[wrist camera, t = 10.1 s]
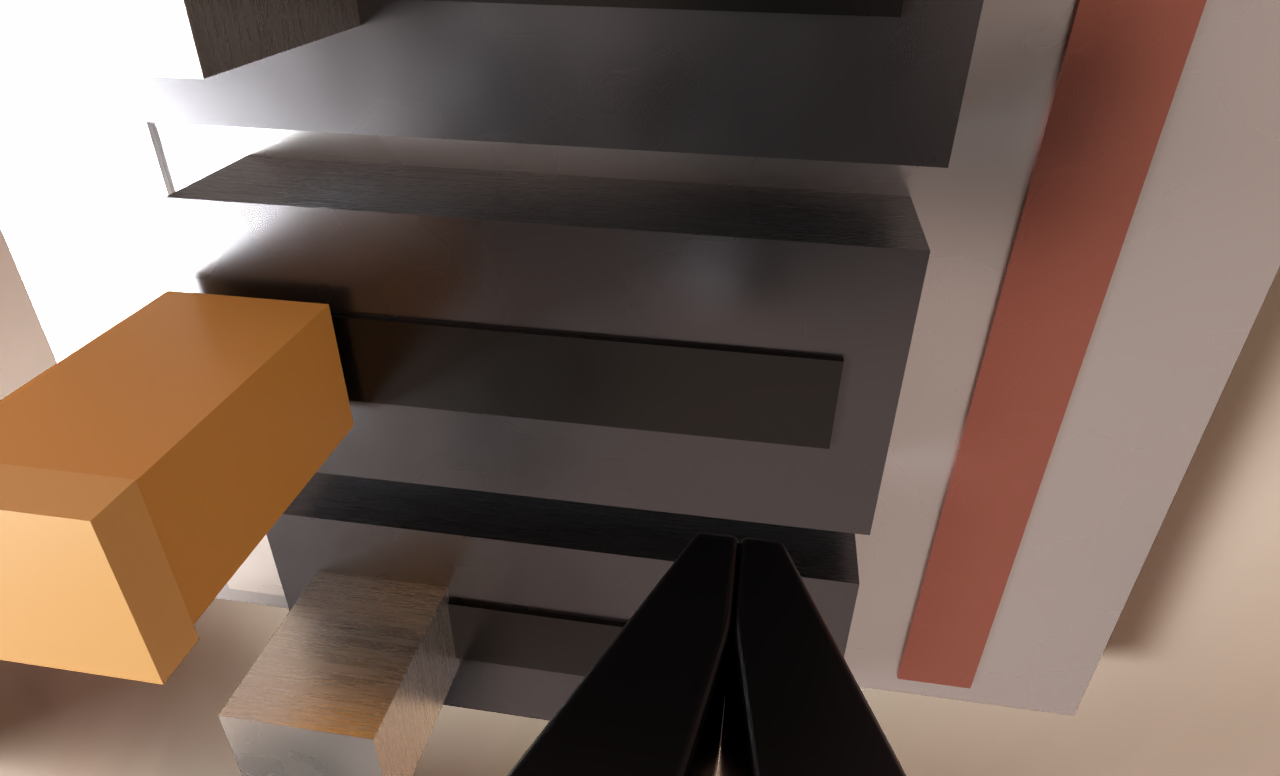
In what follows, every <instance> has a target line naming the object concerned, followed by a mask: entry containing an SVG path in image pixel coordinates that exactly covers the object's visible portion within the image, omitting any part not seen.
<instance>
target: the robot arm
mask: <svg viewBox="0 0 1280 776" xmlns="http://www.w3.org/2000/svg"><path fill="white" fill-rule="evenodd" d="M738 550H739V553H738ZM737 562H738V563H737ZM725 691H726V692H725ZM724 701H725V703H724ZM723 711H724V714H723ZM722 721H723V725H722ZM721 731H722V736H721ZM720 741H721V751H720V776H906V774H905V772H904V770H903V769H902V767H901V765H900V763H899V761H898V759H897V757H896V755H895V753H894V752H893V750H892V748H891V746H890V744H889V742H888V740H887V738H886V736H885V735H884V733H883V731H882V729H881V727H880V725H879V723H878V721H877V719H876V718H875V716H874V714H873V712H872V710H871V708H870V706H869V704H868V702H867V700H866V699H865V697H864V695H863V693H862V691H861V689H860V687H859V685H858V683H857V682H856V680H855V678H854V676H853V674H852V672H851V670H850V668H849V666H848V665H847V663H846V661H845V659H844V657H843V655H842V653H841V651H840V649H839V648H838V646H837V644H836V642H835V640H834V638H833V636H832V634H831V632H830V631H829V629H828V627H827V625H826V623H825V621H824V619H823V617H822V615H821V614H820V612H819V610H818V608H817V606H816V604H815V602H814V600H813V598H812V596H811V595H810V593H809V591H808V589H807V587H806V585H805V583H804V581H803V579H802V578H801V576H800V574H799V572H798V570H797V568H796V566H795V564H794V562H793V561H792V559H791V557H790V555H789V553H788V551H787V549H786V548H785V546H784V545H783V544H782V543H780V542H778V541H771V540H763V539H754V538H744V539H742V540H741V542H740V545H739V542H738V540H737V538H735V537H734V536H728V535H720V534H711V533H699V534H697V535H696V536H695V537H694V538H693V539H692V540H691V541H690V543H689V544H688V545H687V546H686V548H685V549H684V550H683V551H682V553H681V554H680V555H679V557H678V558H677V559H676V560H675V562H674V563H673V564H672V566H671V567H670V568H669V569H668V571H667V572H666V573H665V575H664V576H663V577H662V578H661V580H660V581H659V582H658V584H657V585H656V586H655V587H654V589H653V590H652V591H651V592H650V594H649V595H648V596H647V598H646V599H645V600H644V601H643V603H642V604H641V605H640V607H639V608H638V609H637V610H636V612H635V613H634V614H633V616H632V617H631V618H630V619H629V621H628V622H627V623H626V624H625V626H624V627H623V628H622V630H621V631H620V632H619V633H618V635H617V636H616V637H615V639H614V640H613V641H612V642H611V644H610V645H609V646H608V648H607V649H606V650H605V651H604V653H603V654H602V655H601V656H600V658H599V659H598V660H597V662H596V663H595V664H594V665H593V667H592V668H591V669H590V671H589V672H588V673H587V674H586V676H585V677H584V678H583V680H582V681H581V682H580V683H579V685H578V686H577V687H576V688H575V690H574V691H573V692H572V694H571V695H570V696H569V697H568V699H567V700H566V701H565V703H564V704H563V705H562V706H561V708H560V709H559V710H558V712H557V713H556V714H555V715H554V717H553V718H552V719H551V721H550V722H549V723H548V724H547V726H546V727H545V728H544V729H543V731H542V732H541V733H540V735H539V736H538V737H537V738H536V740H535V741H534V742H533V744H532V745H531V746H530V747H529V749H528V750H527V751H526V753H525V754H524V755H523V756H522V758H521V759H520V760H519V761H518V763H517V764H516V765H515V767H514V768H513V769H512V770H511V772H510V773H509V774H508V776H716V771H717V765H718V757H719V749H720Z"/></svg>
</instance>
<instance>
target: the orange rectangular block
mask: <svg viewBox="0 0 1280 776" xmlns="http://www.w3.org/2000/svg"><path fill="white" fill-rule="evenodd" d="M353 426H354V423H353V418H352V413H351V409H350V404H349V399H348V394H347V389H346V385H345V380H344V375H343V370H342V365H341V361H340V356H339V351H338V346H337V341H336V337H335V332H334V327H333V322H332V317H331V313H330V308H329V304H320V303H309V302H297V301H285V300H274V299H262V298H251V297H239V296H227V295H216V294H204V293H192V292H181V291H169V290H167V291H166V292H164V293H163V294H161V295H160V296H158V297H157V298H155V299H154V300H152V301H151V302H149V303H148V304H146V305H145V306H143V307H142V308H140V309H139V310H137V311H136V312H134V313H133V314H131V315H130V316H128V317H126V318H125V319H123V320H122V321H120V322H119V323H117V324H116V325H114V326H113V327H111V328H110V329H108V330H107V331H105V332H104V333H102V334H101V335H99V336H98V337H96V338H95V339H93V340H92V341H90V342H89V343H87V344H85V345H84V346H82V347H81V348H79V349H78V350H76V351H75V352H73V353H72V354H70V355H69V356H67V357H66V358H64V359H63V360H61V361H60V362H58V363H57V364H55V365H54V366H52V367H51V368H49V369H48V370H46V371H44V372H43V373H41V374H40V375H38V376H37V377H35V378H34V379H32V380H31V381H29V382H28V383H26V384H25V385H23V386H22V387H20V388H19V389H17V390H16V391H14V392H13V393H11V394H10V395H8V396H7V397H5V398H3V399H2V400H0V660H5V661H11V662H18V663H24V664H31V665H37V666H44V667H51V668H57V669H64V670H70V671H77V672H83V673H90V674H96V675H103V676H109V677H116V678H123V679H129V680H136V681H142V682H149V683H155V684H162V685H164V683H165V682H166V681H167V679H168V678H169V677H170V676H171V674H172V673H173V672H174V670H175V669H176V668H177V667H178V665H179V664H180V663H181V662H182V660H183V659H184V658H185V656H186V655H187V654H188V653H189V651H190V650H191V649H192V647H193V646H194V645H195V644H196V642H197V641H198V640H199V638H198V636H197V633H196V631H195V628H194V626H193V625H194V624H195V622H196V621H197V620H198V619H199V617H200V616H201V615H202V614H203V612H204V611H205V610H206V609H207V607H208V606H209V605H210V604H211V602H212V601H213V600H214V599H215V597H216V596H217V595H218V594H219V592H220V591H221V590H222V589H223V587H224V586H225V585H226V584H227V582H228V581H229V580H230V579H231V578H232V576H233V575H234V574H235V573H236V571H237V570H238V569H239V568H240V566H241V565H242V564H243V563H244V561H245V560H246V559H247V558H248V556H249V555H250V554H251V553H252V551H253V550H254V549H255V548H256V546H257V545H258V544H259V543H260V541H261V540H262V539H263V538H264V536H265V535H266V534H267V533H268V532H269V530H270V529H271V528H272V527H273V525H274V524H275V523H276V522H277V520H278V519H279V518H280V517H281V515H282V514H283V513H284V512H285V510H286V509H287V508H288V507H289V505H290V504H291V503H292V502H293V500H294V499H295V498H296V497H297V495H298V494H299V493H300V492H301V490H302V489H303V488H304V487H305V486H306V484H307V483H308V482H309V481H310V479H311V478H312V477H313V476H314V474H315V473H316V472H317V471H318V469H319V468H320V467H321V466H322V464H323V463H324V462H325V461H326V459H327V458H328V457H329V456H330V454H331V453H332V452H333V451H334V449H335V448H336V447H337V446H338V444H339V443H340V442H341V441H342V440H343V438H344V437H345V436H346V435H347V433H348V432H349V431H350V430H351V428H352V427H353Z"/></svg>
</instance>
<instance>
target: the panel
mask: <svg viewBox="0 0 1280 776" xmlns="http://www.w3.org/2000/svg"><path fill="white" fill-rule="evenodd" d="M0 227H1V230H2V232H3V234H4V237H5V239H6V242H7V244H8V246H9V249H10V251H11V254H12V256H13V258H14V261H15V263H16V265H17V268H18V270H19V273H20V275H21V277H22V280H23V282H24V285H25V287H26V289H27V292H28V294H29V296H30V299H31V301H32V304H33V306H34V308H35V311H36V313H37V315H38V318H39V320H40V323H41V325H42V327H43V330H44V332H45V335H46V337H47V339H48V342H49V344H50V346H51V349H52V351H53V354H54V356H55V358H56V361H57V363H58V362H60V361H61V360H63V359H64V358H66V357H67V356H69V355H70V354H72V353H73V352H75V351H76V350H78V349H79V348H81V347H82V346H84V345H85V344H87V343H89V342H90V341H92V340H93V339H95V338H96V337H98V336H99V335H101V334H102V333H104V332H105V331H107V330H108V329H110V328H111V327H113V326H114V325H116V324H117V323H119V322H120V321H122V320H123V319H125V318H126V317H128V316H130V315H131V314H133V313H134V312H136V311H137V310H139V309H140V308H142V307H143V306H145V305H146V304H148V303H149V302H151V301H152V300H154V299H155V298H157V297H158V296H160V295H161V294H163V293H164V292H166V291H167V290H169V291H181V292H192V293H204V294H216V295H227V296H239V297H251V298H262V299H274V300H285V301H297V302H309V303H320V304H329V308H330V313H331V317H332V322H333V327H334V332H335V337H336V341H337V346H338V351H339V356H340V361H341V365H342V370H343V375H344V380H345V385H346V389H347V394H348V399H349V404H350V409H351V413H352V418H353V423H354V426H353V427H352V428H351V430H350V431H349V432H348V433H347V435H346V436H345V437H344V438H343V440H342V441H341V442H340V443H339V444H338V446H337V447H336V448H335V449H334V451H333V452H332V453H331V454H330V456H329V457H328V458H327V459H326V461H325V462H324V463H323V464H322V466H321V467H320V468H319V469H318V471H317V472H316V473H315V474H314V476H313V477H312V478H311V479H310V481H309V482H308V483H307V484H306V486H305V487H304V488H303V489H302V490H301V492H300V493H299V494H298V495H297V497H296V498H295V499H294V500H293V502H292V503H291V504H290V505H289V507H288V508H287V509H286V510H285V512H284V513H283V514H282V515H281V517H280V518H279V519H278V520H277V522H276V523H275V524H274V525H273V527H272V528H271V529H270V530H269V532H268V533H267V534H266V535H265V536H264V538H263V539H262V540H261V541H260V543H259V544H258V545H257V546H256V548H255V549H254V550H253V551H252V553H251V554H250V555H249V556H248V558H247V559H246V560H245V561H244V563H243V564H242V565H241V566H240V568H239V569H238V570H237V571H236V573H235V574H234V575H233V576H232V578H231V579H230V580H229V581H228V582H227V584H226V585H225V586H224V587H223V589H222V590H221V591H220V592H219V594H218V595H217V596H216V597H215V598H217V599H224V600H232V601H239V602H246V603H254V604H261V605H268V606H276V607H283V608H289V611H290V612H289V613H288V615H287V616H286V617H285V619H284V620H283V622H282V623H281V625H280V626H279V628H278V629H277V631H276V632H275V633H274V635H273V636H272V638H271V639H270V641H269V642H268V644H267V645H266V647H265V648H264V649H263V651H262V652H261V654H260V655H259V657H258V658H257V660H256V661H255V663H254V664H253V665H252V667H251V668H250V670H249V671H248V673H247V674H246V676H245V677H244V679H243V680H242V681H241V683H240V684H239V686H238V687H237V689H236V690H235V692H234V693H233V695H232V696H231V697H230V699H229V700H228V702H227V703H226V705H225V706H224V708H223V709H222V711H221V712H220V713H219V715H218V717H219V719H220V722H221V724H222V727H223V729H224V732H225V734H226V736H227V739H228V741H229V744H230V746H231V749H232V751H233V754H234V756H235V759H236V761H237V763H238V766H239V768H240V771H241V773H242V776H413V773H414V771H415V769H416V766H417V764H418V762H419V759H420V757H421V754H422V752H423V750H424V747H425V745H426V743H427V740H428V738H429V736H430V733H431V731H432V729H433V726H434V724H435V722H436V719H437V717H438V714H439V712H440V710H441V707H442V705H450V706H456V707H463V708H470V709H476V710H483V711H490V712H497V713H503V714H510V715H517V716H523V717H530V718H537V719H543V720H550V721H551V719H552V718H553V717H554V715H555V714H556V713H557V712H558V710H559V709H560V708H561V706H562V705H563V704H564V703H565V701H566V700H567V699H568V697H569V696H570V695H571V694H572V692H573V691H574V690H575V688H576V687H577V686H578V685H579V683H580V682H581V681H582V680H583V678H584V677H585V676H586V674H587V673H588V672H589V671H590V669H591V668H592V667H593V665H594V664H595V663H596V662H597V660H598V659H599V658H600V656H601V655H602V654H603V653H604V651H605V650H606V649H607V648H608V646H609V645H610V644H611V642H612V641H613V640H614V639H615V637H616V636H617V635H618V633H619V632H620V631H621V630H622V628H623V627H624V626H625V624H626V623H627V622H628V621H629V619H630V618H631V617H632V616H633V614H634V613H635V612H636V610H637V609H638V608H639V607H640V605H641V604H642V603H643V601H644V600H645V599H646V598H647V596H648V595H649V594H650V592H651V591H652V590H653V589H654V587H655V586H656V585H657V584H658V582H659V581H660V580H661V578H662V577H663V576H664V575H665V573H666V572H667V571H668V569H669V568H670V567H671V566H672V564H673V563H674V562H675V560H676V559H677V558H678V557H679V555H680V554H681V553H682V551H683V550H684V549H685V548H686V546H687V545H688V544H689V543H690V541H691V540H692V539H693V538H694V537H695V536H696V535H697V534H699V533H711V534H720V535H728V536H734V537H735V538H737V540H738V542H739V545H740V542H741V540H742V539H744V538H754V539H763V540H771V541H778V542H780V543H782V544H783V545H784V546H785V548H786V549H787V551H788V553H789V555H790V557H791V559H792V561H793V562H794V564H795V566H796V568H797V570H798V572H799V574H800V576H801V578H802V579H803V581H804V583H805V585H806V587H807V589H808V591H809V593H810V595H811V596H812V598H813V600H814V602H815V604H816V606H817V608H818V610H819V612H820V614H821V615H822V617H823V619H824V621H825V623H826V625H827V627H828V629H829V631H830V632H831V634H832V636H833V638H834V640H835V642H836V644H837V646H838V648H839V649H840V651H841V653H842V655H843V657H844V659H845V661H846V663H847V665H848V666H849V668H850V670H851V672H852V674H853V676H854V678H855V680H856V682H857V683H858V685H859V686H860V687H867V688H874V689H882V690H889V691H896V692H904V693H911V694H918V695H925V696H933V697H940V698H947V699H955V700H962V701H969V702H977V703H984V704H991V705H999V706H1006V707H1013V708H1020V709H1028V710H1035V711H1042V712H1050V713H1057V714H1064V715H1072V716H1074V715H1075V712H1076V710H1077V708H1078V706H1079V704H1080V702H1081V699H1082V697H1083V695H1084V693H1085V691H1086V688H1087V686H1088V684H1089V682H1090V680H1091V678H1092V675H1093V673H1094V671H1095V669H1096V667H1097V664H1098V662H1099V660H1100V658H1101V656H1102V653H1103V651H1104V649H1105V647H1106V645H1107V643H1108V640H1109V638H1110V636H1111V634H1112V632H1113V629H1114V627H1115V625H1116V623H1117V621H1118V619H1119V616H1120V614H1121V612H1122V610H1123V608H1124V605H1125V603H1126V601H1127V599H1128V597H1129V595H1130V592H1131V590H1132V588H1133V586H1134V584H1135V581H1136V579H1137V577H1138V575H1139V573H1140V570H1141V568H1142V566H1143V564H1144V562H1145V560H1146V557H1147V555H1148V553H1149V551H1150V549H1151V546H1152V544H1153V542H1154V540H1155V538H1156V536H1157V533H1158V531H1159V529H1160V527H1161V525H1162V522H1163V520H1164V518H1165V516H1166V514H1167V511H1168V509H1169V507H1170V505H1171V503H1172V501H1173V498H1174V496H1175V494H1176V492H1177V490H1178V487H1179V485H1180V483H1181V481H1182V479H1183V477H1184V474H1185V472H1186V470H1187V468H1188V466H1189V463H1190V461H1191V459H1192V457H1193V455H1194V452H1195V450H1196V448H1197V446H1198V444H1199V442H1200V439H1201V437H1202V435H1203V433H1204V431H1205V428H1206V426H1207V424H1208V422H1209V420H1210V418H1211V415H1212V413H1213V411H1214V409H1215V407H1216V404H1217V402H1218V400H1219V398H1220V396H1221V393H1222V391H1223V389H1224V387H1225V385H1226V383H1227V380H1228V378H1229V376H1230V374H1231V372H1232V369H1233V367H1234V365H1235V363H1236V361H1237V359H1238V356H1239V354H1240V352H1241V350H1242V348H1243V345H1244V343H1245V341H1246V339H1247V337H1248V335H1249V332H1250V330H1251V328H1252V326H1253V324H1254V321H1255V319H1256V317H1257V315H1258V313H1259V310H1260V308H1261V306H1262V304H1263V302H1264V300H1265V297H1266V295H1267V293H1268V291H1269V289H1270V286H1271V284H1272V282H1273V280H1274V278H1275V276H1276V273H1277V271H1278V269H1279V267H1280V0H0ZM738 553H739V550H738ZM737 563H738V562H737ZM725 692H726V691H725ZM724 703H725V701H724ZM723 714H724V711H723ZM722 725H723V721H722ZM721 736H722V731H721ZM720 746H721V741H720Z"/></svg>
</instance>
